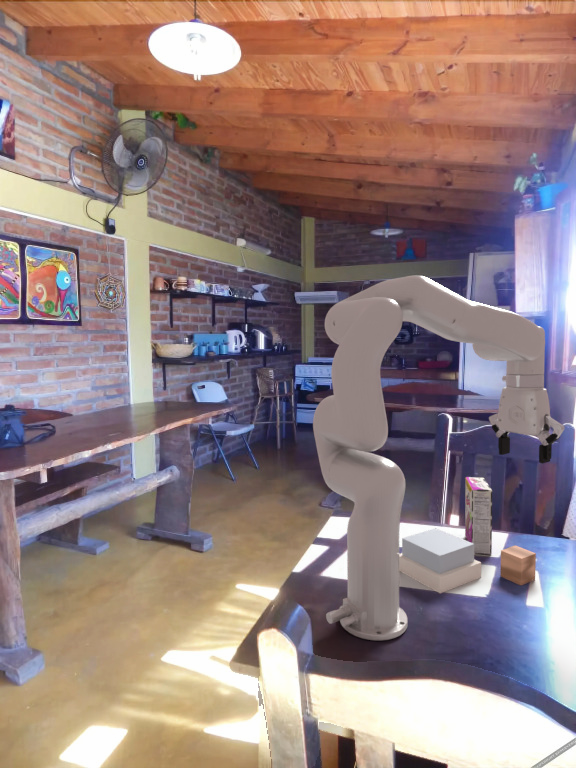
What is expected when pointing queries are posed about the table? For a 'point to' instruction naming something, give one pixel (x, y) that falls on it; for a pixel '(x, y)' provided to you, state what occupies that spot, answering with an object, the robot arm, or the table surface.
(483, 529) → the candy bar box
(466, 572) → the tower base
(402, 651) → the table surface
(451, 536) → the tower top
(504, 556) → the terracotta block
